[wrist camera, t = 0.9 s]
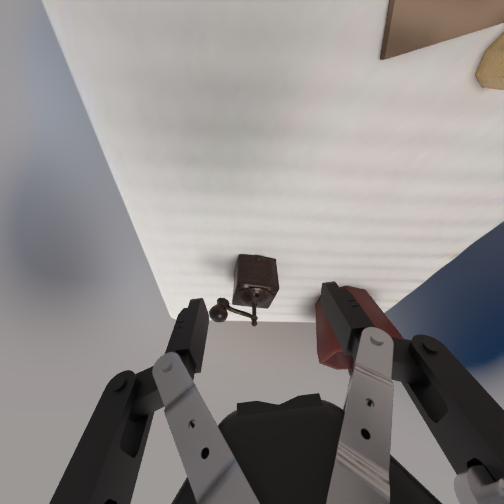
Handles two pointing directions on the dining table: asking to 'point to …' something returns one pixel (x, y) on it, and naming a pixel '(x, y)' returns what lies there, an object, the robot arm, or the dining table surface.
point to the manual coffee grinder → (249, 287)
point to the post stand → (435, 22)
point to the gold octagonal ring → (492, 66)
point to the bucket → (328, 341)
